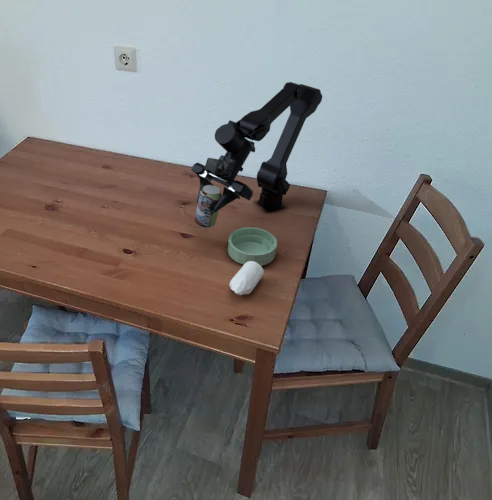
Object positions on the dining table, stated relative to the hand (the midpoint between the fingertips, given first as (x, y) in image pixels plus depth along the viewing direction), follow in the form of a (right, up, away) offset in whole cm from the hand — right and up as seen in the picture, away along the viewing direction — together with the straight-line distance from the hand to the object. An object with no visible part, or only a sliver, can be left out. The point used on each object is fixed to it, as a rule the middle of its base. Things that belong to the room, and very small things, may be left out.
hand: (205, 207), depth 150 cm
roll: (+9, -22, -8) cm, 25 cm away
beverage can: (+1, -5, +5) cm, 7 cm away
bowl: (+14, -13, +5) cm, 19 cm away
